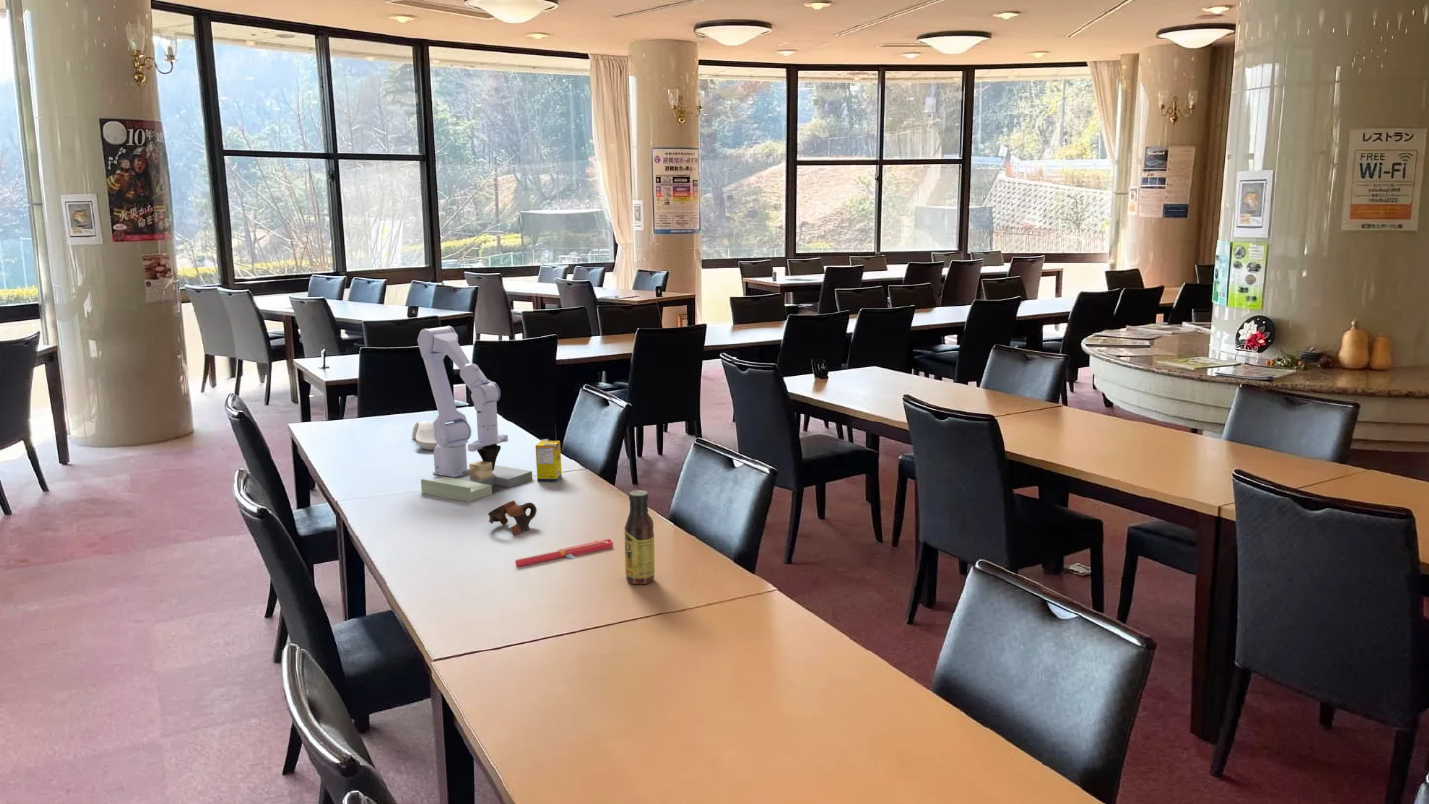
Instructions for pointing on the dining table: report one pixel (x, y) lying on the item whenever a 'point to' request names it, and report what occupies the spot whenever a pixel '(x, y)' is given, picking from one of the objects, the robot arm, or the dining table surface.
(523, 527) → the pottery mug
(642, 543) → the sauce bottle
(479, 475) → the maple block
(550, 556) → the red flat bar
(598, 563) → the dining table surface
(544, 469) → the supplement box
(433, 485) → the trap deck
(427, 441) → the spoon rest
